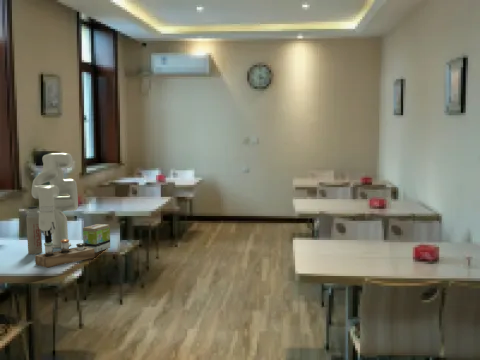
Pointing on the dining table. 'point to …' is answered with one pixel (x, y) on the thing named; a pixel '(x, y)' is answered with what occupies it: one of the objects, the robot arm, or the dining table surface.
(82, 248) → the plug
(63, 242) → the plug mid
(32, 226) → the thermos bottle
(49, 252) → the plug
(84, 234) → the tea box
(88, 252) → the socket block
